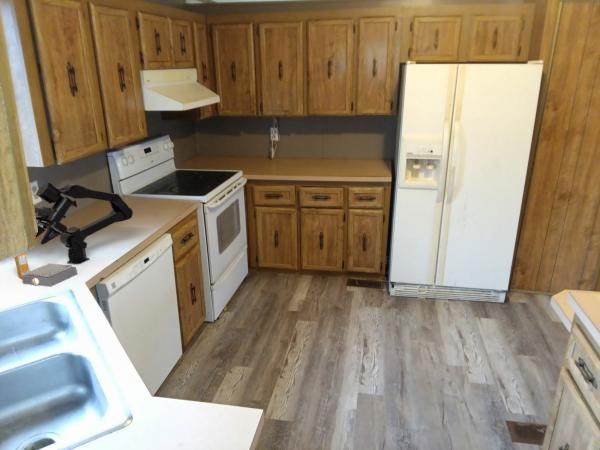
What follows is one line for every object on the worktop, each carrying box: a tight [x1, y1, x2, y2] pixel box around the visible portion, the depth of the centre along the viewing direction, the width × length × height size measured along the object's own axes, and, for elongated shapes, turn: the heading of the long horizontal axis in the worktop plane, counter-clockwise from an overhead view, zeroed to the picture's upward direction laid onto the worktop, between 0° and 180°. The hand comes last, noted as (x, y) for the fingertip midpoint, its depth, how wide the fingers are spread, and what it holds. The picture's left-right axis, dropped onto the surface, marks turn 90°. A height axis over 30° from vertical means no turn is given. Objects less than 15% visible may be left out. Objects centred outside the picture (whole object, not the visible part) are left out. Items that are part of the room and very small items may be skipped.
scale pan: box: [26, 263, 73, 277], centre depth 172 cm, size 11×11×1 cm
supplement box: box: [13, 252, 30, 280], centre depth 174 cm, size 3×3×10 cm
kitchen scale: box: [22, 266, 78, 288], centre depth 172 cm, size 14×13×3 cm
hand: (35, 242), depth 177 cm, fingers open, 9 cm apart
